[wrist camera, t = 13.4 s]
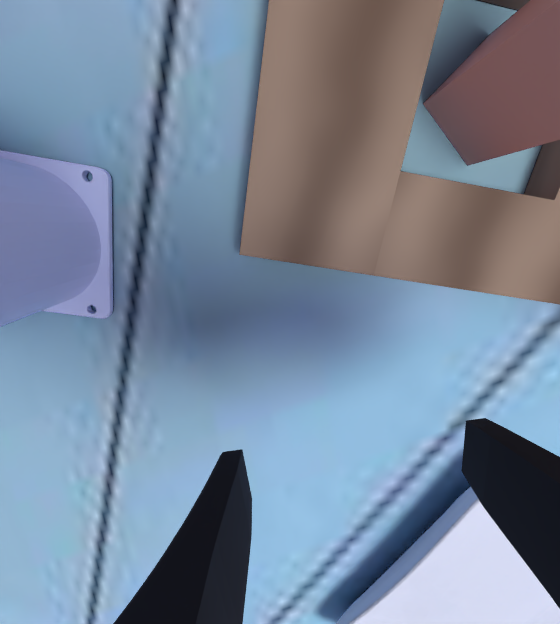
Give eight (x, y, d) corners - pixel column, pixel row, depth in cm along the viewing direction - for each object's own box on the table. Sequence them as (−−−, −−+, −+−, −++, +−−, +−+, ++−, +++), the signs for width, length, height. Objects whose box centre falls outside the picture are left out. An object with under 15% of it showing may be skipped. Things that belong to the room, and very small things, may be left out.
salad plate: (483, 664, 31) (509, 717, 27) (314, 607, 27) (320, 661, 23) (645, 534, 25) (701, 580, 22) (465, 440, 22) (501, 479, 18)
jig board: (242, 250, 16) (239, 254, 14) (298, -219, 11) (304, -309, 9) (591, 305, 18) (628, 315, 16) (778, -75, 13) (864, -126, 11)
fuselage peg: (423, 103, 15) (592, -26, 7) (488, 35, 14) (759, -194, 6) (467, 165, 16) (659, 111, 8) (531, 104, 15) (810, -21, 7)
